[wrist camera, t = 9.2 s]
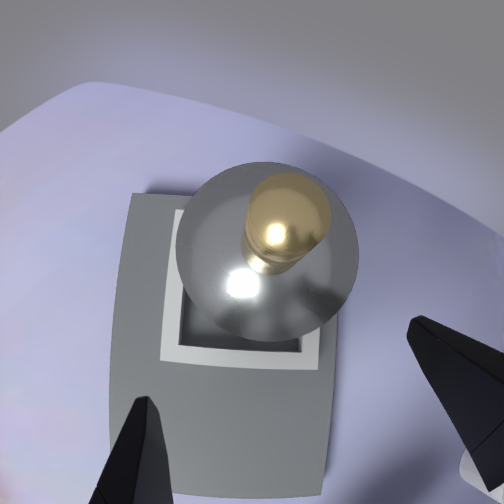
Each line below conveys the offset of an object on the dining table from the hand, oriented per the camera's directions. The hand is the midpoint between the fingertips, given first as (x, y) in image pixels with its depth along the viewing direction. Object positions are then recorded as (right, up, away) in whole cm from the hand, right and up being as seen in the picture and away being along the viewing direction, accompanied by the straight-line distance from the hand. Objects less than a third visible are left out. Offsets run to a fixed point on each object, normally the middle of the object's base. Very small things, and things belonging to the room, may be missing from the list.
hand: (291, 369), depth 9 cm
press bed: (-3, -3, +10) cm, 11 cm away
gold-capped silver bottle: (-2, +1, +10) cm, 10 cm away
